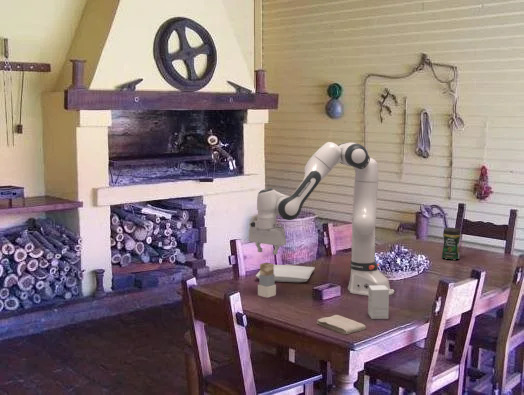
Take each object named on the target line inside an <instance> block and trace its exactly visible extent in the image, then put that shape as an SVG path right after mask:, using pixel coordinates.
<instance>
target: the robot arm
mask: <svg viewBox="0 0 524 395" xmlns="http://www.w3.org/2000/svg"><path fill="white" fill-rule="evenodd" d="M339 164H340V165H341V164H342V165H344V166H347V167H352V168H353V170H354V184H353V199H352V203H353V204H352V215H351V216H352V217H351V260H350V266H349V268H350V277H349V283H348V286H347V290H348V291H349V293H350V294H355V295H360V296H368V287H369V286H376V285H385V286H386V287H387V288H388V289H389V296H392V295H394V294H395V290H394V289H393V288H391V287H390V281H389V279H388V277H386V276H385V275H384V274H383V273H382V272H381V270H379V269H378V267H379V266H380V263H377V262H376V258H375V256H376V223H377V203H378V192H379V166H378V162H377V160H376V159H374V158H372V157H370V155H369V154H368V151H367V149H366V147H365V146H363V145H362V144H359V143H356V142H346V141H345V142H342V143H340V144H336V143H335V142H331V141H327V142H325V143H324V144H323V145H321V146H320V147H319V148H318V150H316V152H314V153H313V155H311V157H310V158H309V159H308V160H307V162H306V164H305V165H304V177H303V180H302V181H301V182H300V184H299V186H298V187H297V188H296V189H295V191H294V192H293V193H292V194H291V195H287V194H284V193H281V192H279V191H277V190H275V189H274V188H264V189H262V190H259V192H258V194H257V197H256V198H257V199H256V210H257V218H256V220H254V221H251V222H248V226H249V229H248V240H249V241H250V242H251V243H255V247H256V249H257V252H258V253H262V252H263V248H262V247H261V244H265V245H271V246H273V247H274V250H272V255H275V256H277V255H278V252H279V250H280V247H282V246H285V245H286V243H287V239H286V232H285V228H284V227H283V225H278V224H277V216H280V217H281V218H282V219H283V220H286V221H293V220H295V219H296V218H297V217H299V215H300V213H301V210H302V208H303V205H304V203H305V202H306V201H307V199H308V198H309V197H310V195H311V194H312V193H313V191H314V190H315V189H316V188H317V186H318V185H319V184H320V183H321V182H322V181H323V180H324V179H325V178H326V177H327V176H328V175H329V173H330V172H331V171H332V170H333V169H334V167H335V166H337V165H339Z"/></svg>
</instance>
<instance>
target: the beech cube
mask: <svg viewBox="0 0 524 395" xmlns="http://www.w3.org/2000/svg"><path fill="white" fill-rule="evenodd" d="M274 265H275V264H274V263H271V262H263V263H262V262H261V263H260V264H259V271H260V275H264V276H270V275H273V274H274Z"/></svg>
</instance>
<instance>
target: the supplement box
mask: <svg viewBox="0 0 524 395" xmlns="http://www.w3.org/2000/svg"><path fill="white" fill-rule="evenodd" d="M389 298H390V295H389V289H388V288H387V287H386V286H385V285H376V286H369V287H368V298H367V300H368V302H367V303H368V304H367V314H368V316H369V317H370V319H371V320H385V319H387V320H389V310H390V309H389V307H390V306H389V305H390V303H389V302H390V299H389Z"/></svg>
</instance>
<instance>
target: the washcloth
mask: <svg viewBox="0 0 524 395" xmlns="http://www.w3.org/2000/svg"><path fill="white" fill-rule="evenodd" d="M316 320H317V321H316V324H317V325H318V326H320V327H323V328H326V329H328V330H330V331H333V332H337V333H338V334H342V335H350V334H353V333H357V332H358V333H359V332H361V331H365V330H366V329H367V327H366V325H365V324H364V323H362V322H358V321H356V320H354V319H350V318H347V317H345V316H342V315H340V314H334V315H332V316H328V317H327V316H326V317H325V316H324V317H321V318H318V319H316Z"/></svg>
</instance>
